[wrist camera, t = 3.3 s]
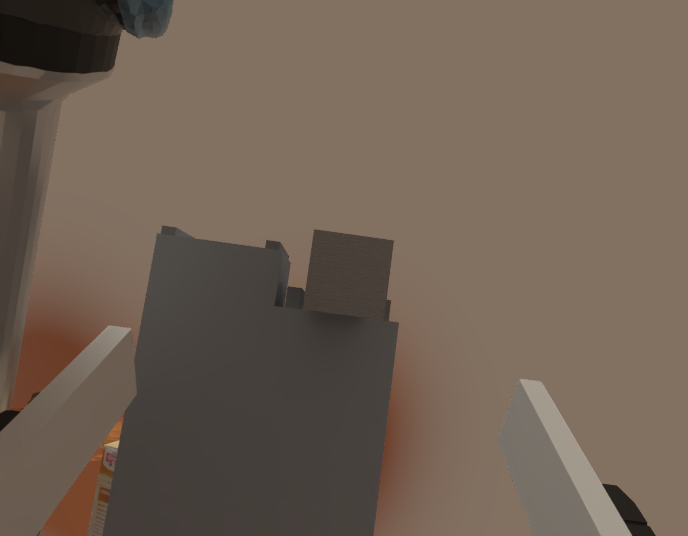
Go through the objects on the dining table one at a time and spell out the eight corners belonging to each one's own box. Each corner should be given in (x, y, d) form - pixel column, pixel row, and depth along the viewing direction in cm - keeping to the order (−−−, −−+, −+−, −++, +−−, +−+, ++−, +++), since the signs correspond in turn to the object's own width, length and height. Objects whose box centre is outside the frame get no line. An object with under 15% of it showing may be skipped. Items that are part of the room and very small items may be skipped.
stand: (339, 914, 27) (415, 258, 31) (22, 886, 26) (146, 221, 30) (334, 750, 37) (393, 271, 41) (105, 727, 36) (189, 243, 40)
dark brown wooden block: (385, 320, 21) (395, 237, 22) (300, 309, 21) (312, 225, 22) (352, 316, 45) (357, 276, 46) (312, 310, 45) (318, 270, 46)
